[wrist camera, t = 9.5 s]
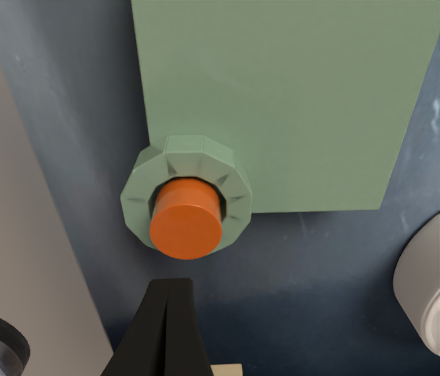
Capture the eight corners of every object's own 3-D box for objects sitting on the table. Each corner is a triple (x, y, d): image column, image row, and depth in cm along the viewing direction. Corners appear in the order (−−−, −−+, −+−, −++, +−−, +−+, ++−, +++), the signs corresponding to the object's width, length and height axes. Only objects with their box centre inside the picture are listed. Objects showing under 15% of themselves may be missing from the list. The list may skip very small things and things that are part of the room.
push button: (159, 230, 15) (153, 260, 14) (151, 178, 14) (144, 205, 12) (220, 228, 15) (222, 259, 14) (220, 176, 14) (222, 203, 12)
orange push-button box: (147, 201, 20) (132, 258, 16) (106, -63, 13) (58, -89, 9) (351, 196, 20) (389, 250, 16) (422, -61, 13) (523, -85, 9)
